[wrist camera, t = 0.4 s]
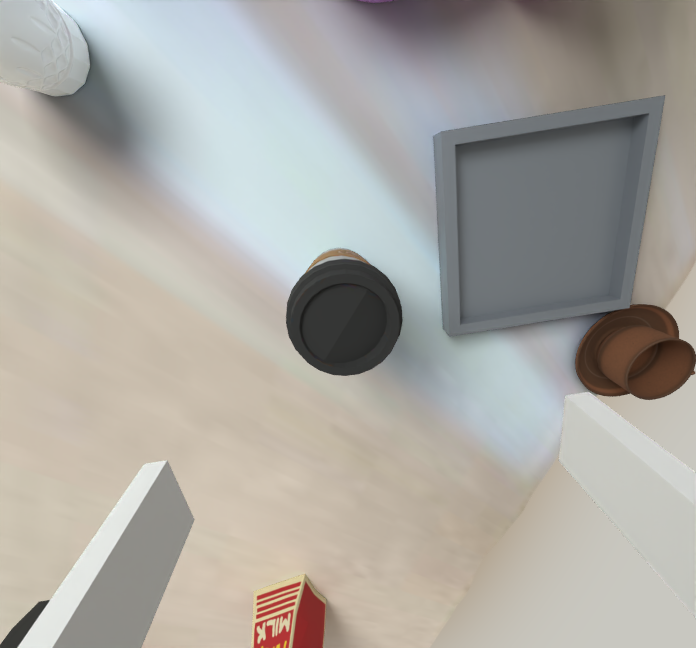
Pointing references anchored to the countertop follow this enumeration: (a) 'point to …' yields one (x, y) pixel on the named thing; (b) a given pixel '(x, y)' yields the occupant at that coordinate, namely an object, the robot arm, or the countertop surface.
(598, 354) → the cup and saucer
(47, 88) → the white cup
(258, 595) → the milk carton
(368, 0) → the container set
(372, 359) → the coffee cup
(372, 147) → the countertop surface
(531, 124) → the tray
